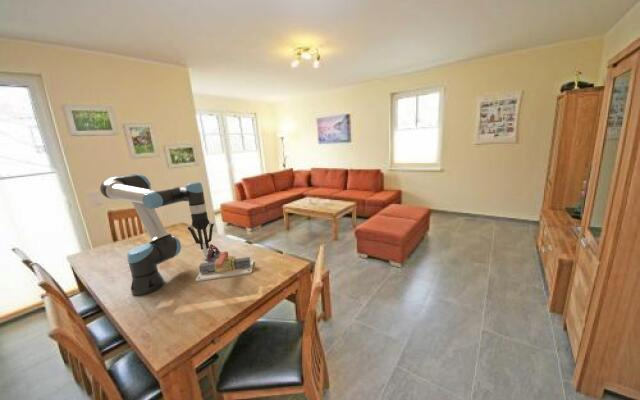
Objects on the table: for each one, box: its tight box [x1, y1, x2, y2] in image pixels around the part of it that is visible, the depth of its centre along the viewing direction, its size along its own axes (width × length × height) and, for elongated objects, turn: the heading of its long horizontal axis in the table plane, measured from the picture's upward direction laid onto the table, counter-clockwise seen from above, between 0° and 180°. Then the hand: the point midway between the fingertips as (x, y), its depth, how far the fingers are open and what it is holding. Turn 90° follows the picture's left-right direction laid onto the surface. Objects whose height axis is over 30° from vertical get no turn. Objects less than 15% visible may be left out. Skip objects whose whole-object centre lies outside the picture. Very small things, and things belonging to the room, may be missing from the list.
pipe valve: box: [198, 255, 251, 275], centre depth 147 cm, size 28×7×9 cm, turn 100°
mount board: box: [195, 259, 254, 282], centre depth 148 cm, size 30×16×1 cm, turn 100°
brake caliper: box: [202, 243, 221, 263], centre depth 163 cm, size 11×11×12 cm
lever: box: [216, 250, 229, 268], centre depth 140 cm, size 17×4×2 cm, turn 10°
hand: (206, 254), depth 135 cm, fingers closed
